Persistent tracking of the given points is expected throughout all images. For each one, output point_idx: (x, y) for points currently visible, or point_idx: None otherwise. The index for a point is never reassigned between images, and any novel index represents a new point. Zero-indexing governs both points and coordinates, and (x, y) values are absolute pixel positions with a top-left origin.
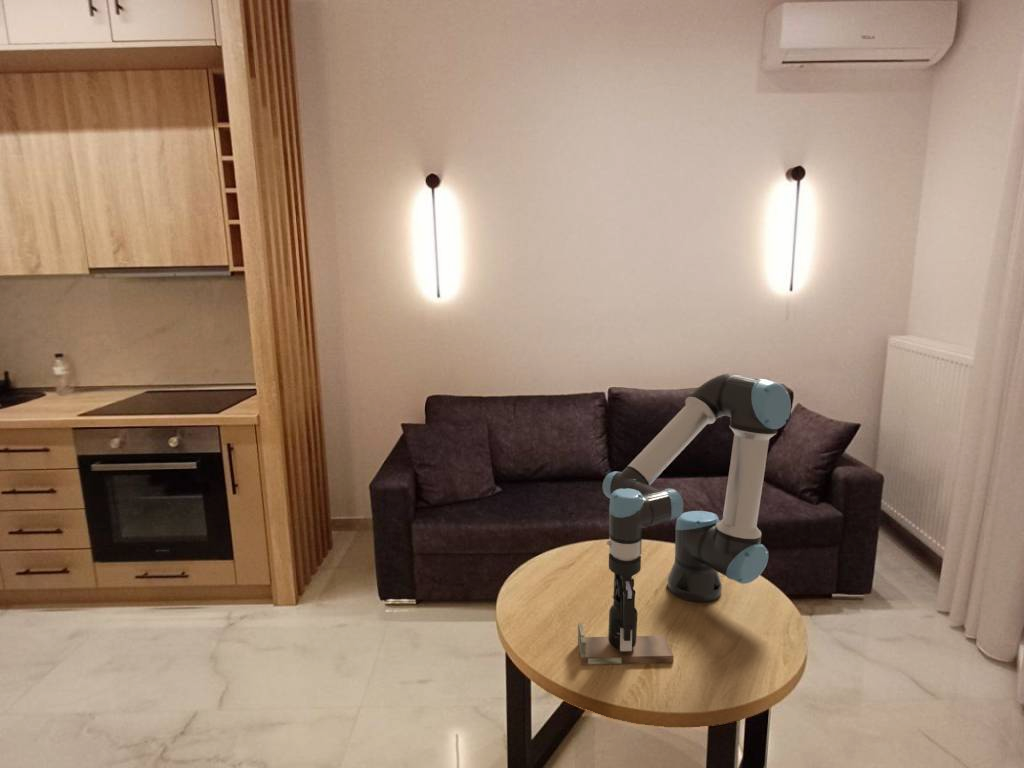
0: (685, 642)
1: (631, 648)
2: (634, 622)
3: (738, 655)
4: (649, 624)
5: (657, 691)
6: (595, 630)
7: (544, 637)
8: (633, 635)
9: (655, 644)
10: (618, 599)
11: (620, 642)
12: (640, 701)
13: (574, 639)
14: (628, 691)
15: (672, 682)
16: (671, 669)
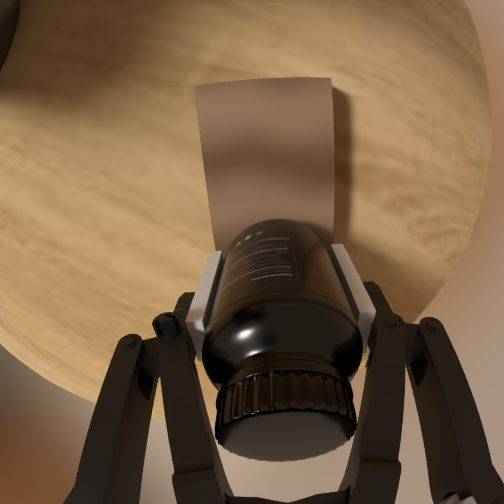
0: (196, 22)
1: (344, 249)
2: (452, 348)
3: None
4: (103, 139)
5: (440, 171)
6: (165, 300)
7: None
8: (331, 261)
9: (258, 131)
10: (301, 454)
11: None
12: (459, 223)
13: None
14: (428, 245)
15: (413, 115)
16: (356, 97)
